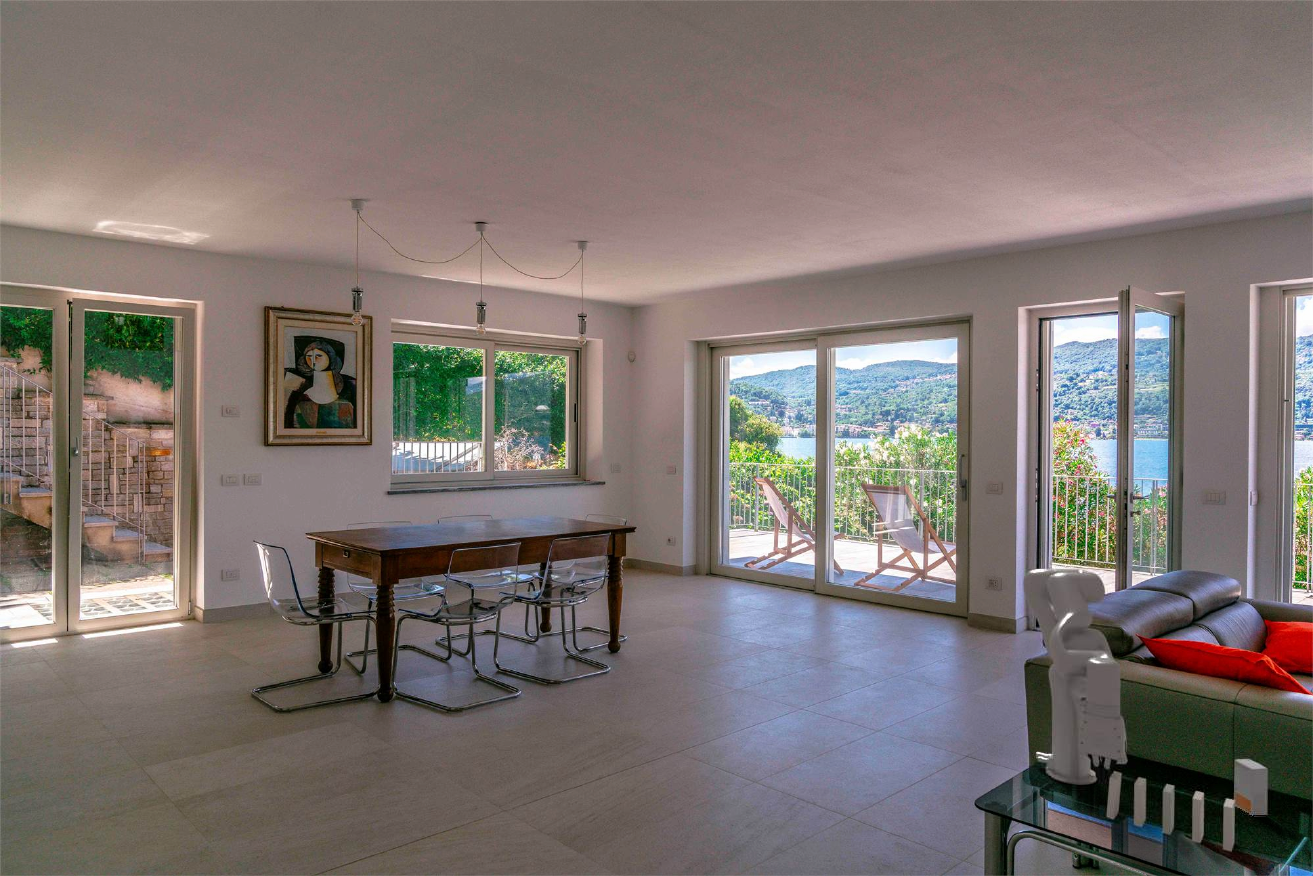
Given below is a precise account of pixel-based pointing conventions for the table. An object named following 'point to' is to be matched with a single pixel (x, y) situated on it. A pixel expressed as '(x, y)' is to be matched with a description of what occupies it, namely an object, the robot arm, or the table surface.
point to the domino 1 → (1114, 795)
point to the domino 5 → (1228, 824)
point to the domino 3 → (1168, 809)
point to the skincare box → (1250, 787)
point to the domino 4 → (1198, 817)
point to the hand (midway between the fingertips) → (1102, 782)
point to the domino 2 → (1139, 801)
